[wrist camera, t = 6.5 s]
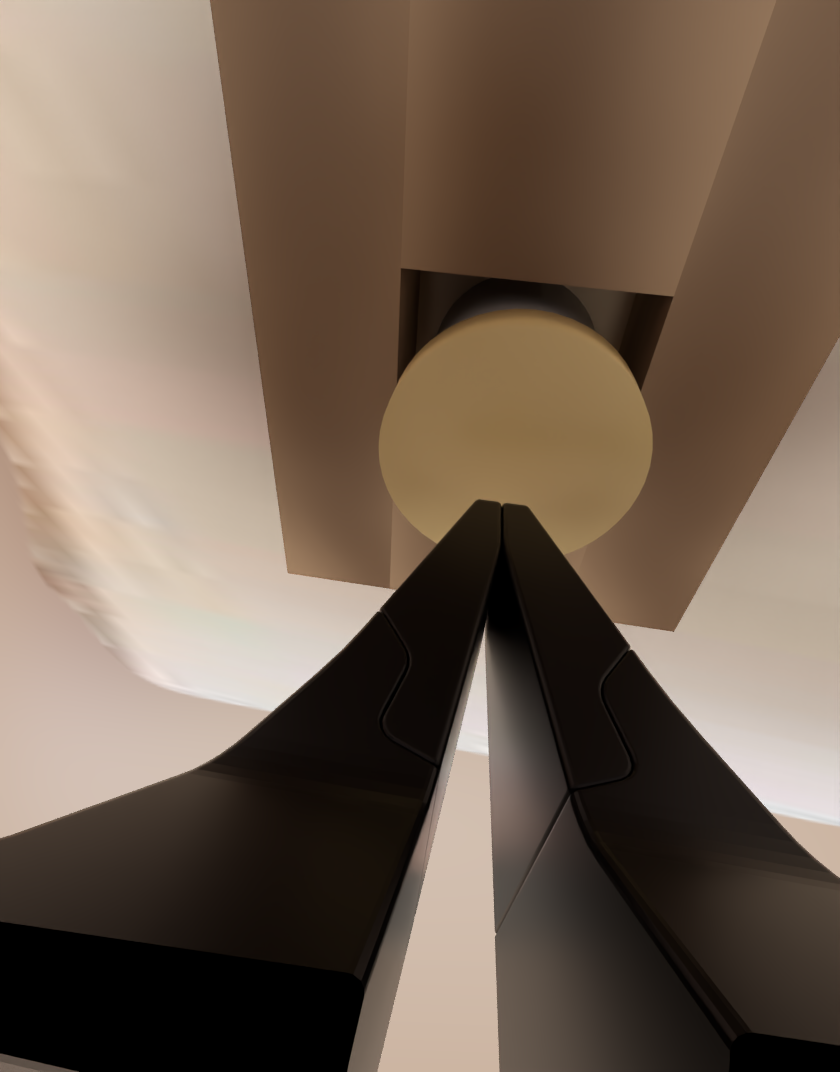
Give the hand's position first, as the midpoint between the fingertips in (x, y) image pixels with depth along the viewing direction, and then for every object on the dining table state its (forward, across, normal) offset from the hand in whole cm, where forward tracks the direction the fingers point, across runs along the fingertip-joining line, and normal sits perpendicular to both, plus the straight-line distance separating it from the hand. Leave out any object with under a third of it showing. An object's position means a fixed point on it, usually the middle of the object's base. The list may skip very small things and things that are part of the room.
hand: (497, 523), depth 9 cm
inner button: (+7, 0, 0) cm, 8 cm away
